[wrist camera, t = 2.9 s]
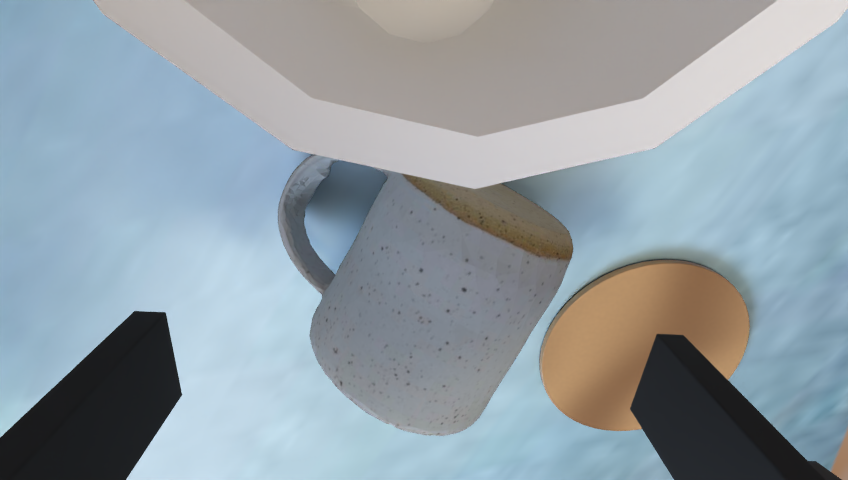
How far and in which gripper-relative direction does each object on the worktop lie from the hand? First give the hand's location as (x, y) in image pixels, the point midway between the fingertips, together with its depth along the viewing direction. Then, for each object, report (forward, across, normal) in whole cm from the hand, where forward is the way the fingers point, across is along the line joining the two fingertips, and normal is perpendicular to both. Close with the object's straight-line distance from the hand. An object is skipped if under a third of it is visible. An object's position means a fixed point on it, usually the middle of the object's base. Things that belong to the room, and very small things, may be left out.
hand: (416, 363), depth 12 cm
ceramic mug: (+9, 0, 0) cm, 9 cm away
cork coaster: (+9, +13, -6) cm, 16 cm away
